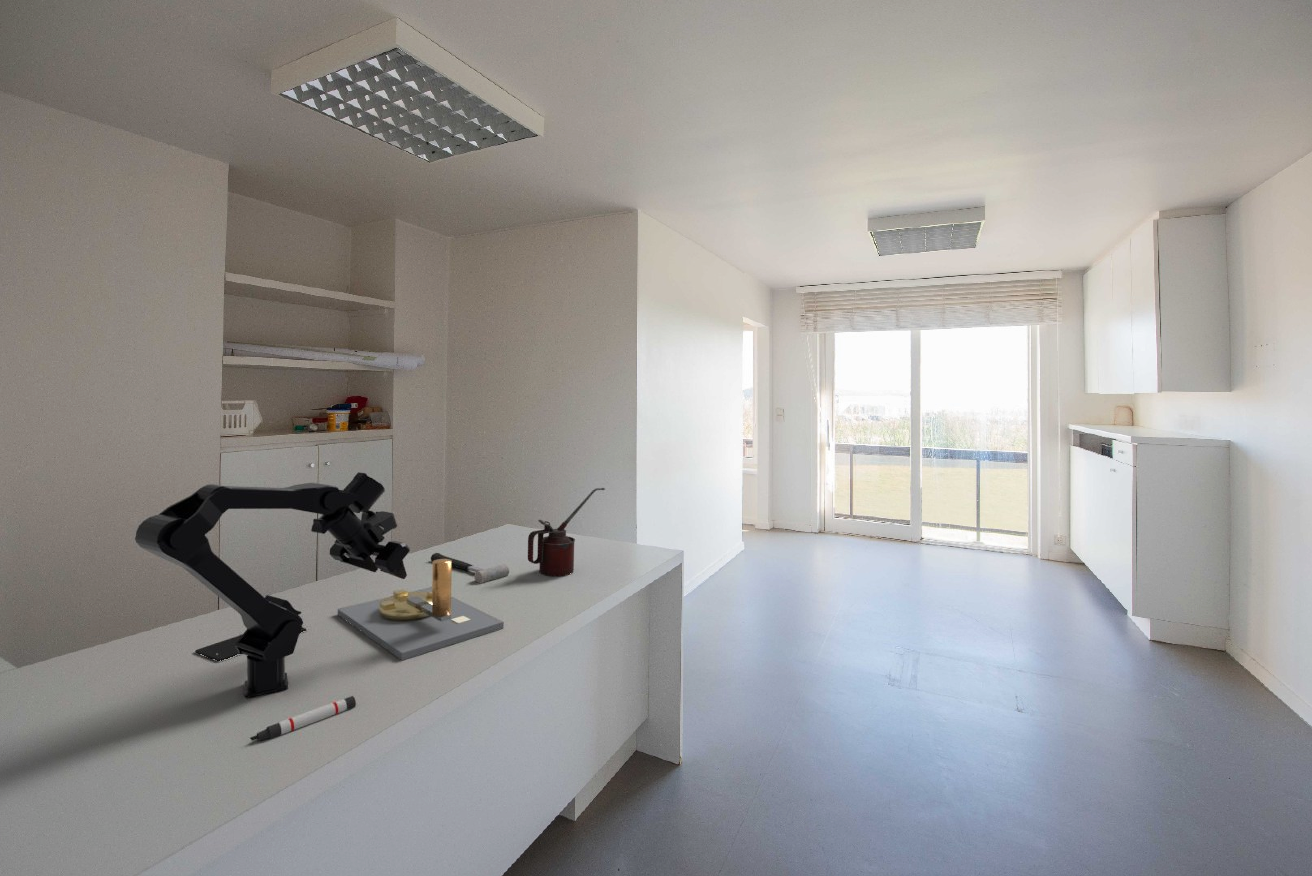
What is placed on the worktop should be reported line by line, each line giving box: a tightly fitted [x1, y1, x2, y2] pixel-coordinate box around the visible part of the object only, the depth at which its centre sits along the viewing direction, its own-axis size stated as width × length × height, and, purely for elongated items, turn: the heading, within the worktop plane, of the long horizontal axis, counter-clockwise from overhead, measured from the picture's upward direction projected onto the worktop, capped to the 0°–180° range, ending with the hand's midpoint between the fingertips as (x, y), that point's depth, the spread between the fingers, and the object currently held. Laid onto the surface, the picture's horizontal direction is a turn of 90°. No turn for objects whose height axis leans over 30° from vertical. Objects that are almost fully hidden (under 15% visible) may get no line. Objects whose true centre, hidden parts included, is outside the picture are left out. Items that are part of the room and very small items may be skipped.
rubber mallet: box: [430, 552, 510, 584], centre depth 180 cm, size 10×4×30 cm
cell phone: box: [195, 626, 307, 662], centre depth 125 cm, size 9×18×1 cm, turn 155°
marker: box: [249, 695, 357, 742], centre depth 95 cm, size 15×2×2 cm, turn 141°
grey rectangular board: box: [337, 586, 505, 661], centre depth 139 cm, size 34×24×2 cm
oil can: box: [527, 487, 606, 577], centre depth 184 cm, size 28×11×25 cm, turn 134°
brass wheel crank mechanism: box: [379, 559, 453, 622], centre depth 138 cm, size 24×14×15 cm, turn 49°
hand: (390, 573), depth 130 cm, fingers open, 9 cm apart
